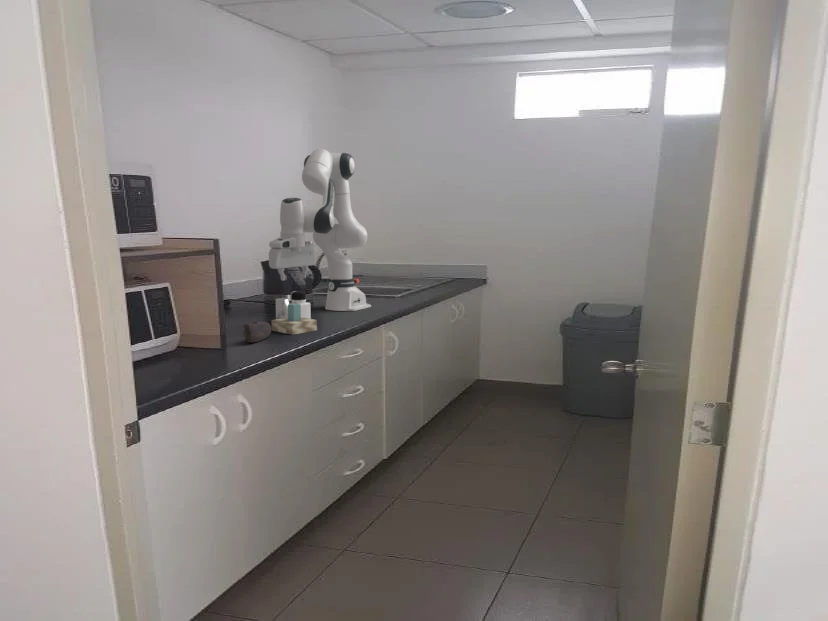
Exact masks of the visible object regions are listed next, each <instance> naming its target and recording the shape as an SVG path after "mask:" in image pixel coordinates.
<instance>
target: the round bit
mask: <svg viewBox="0 0 828 621" xmlns="http://www.w3.org/2000/svg"><path fill="white" fill-rule="evenodd" d="M289 303H290V298H286V297H282V298H279V297H278V298H275V320H276V319H282V318H288V304H289Z"/></svg>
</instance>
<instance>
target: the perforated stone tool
mask: <svg viewBox="0 0 828 621" xmlns="http://www.w3.org/2000/svg"><path fill="white" fill-rule="evenodd" d="M243 328H244V329H243V333H242V334H243V337H244V339H245V342H247V343H249V344H252V343H253V344H254V343H258V342H261V341H264V340H265V339H267V338H268V337H269V336H270V334H271V333H272V324H270V323H269V322H266V321H254V322H251V323H250V322H249V323H245V324H244V325H243Z"/></svg>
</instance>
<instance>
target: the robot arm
mask: <svg viewBox="0 0 828 621" xmlns="http://www.w3.org/2000/svg"><path fill="white" fill-rule="evenodd" d="M355 169H356V164H355V160H354V157H353V156H352V155H351V153H347V152H342V153H341V152H330V151H329V150H327V149H324V148H316V149H314V150H313V151H312V152H311V154H309V155H307V156H306V157H305V158H304V161H303V169H302V172H301V180H302V183H303V185H304V186H305V188H306V189H307V190H308V191H310V192H312V193H314V194H317V195H321V196H322V205H321V206H304V204H303V199H301V198H299V197H287V198H284V199H282V200H281V203H280V211H279V223H280V227H281V230H280V237H277V238H276V239H273V240H271V241H270V242H269V245H268V246H269V248H270V249H269V251H268V267H269V268H270V269H273V270H274V269H275V270H277V272H278V275H279V276H280V280H281V281H286V280H288V279H287V278H288V277H287V276H288V275H286V274H285V269H286V268H287V269H288V268H289V269H291V268H297V267H298V268H299V267H301V269H302V271H301V272H300V273H299V275H300V277H299V278H300V279H306V278H307V273H308V270H309V266H315V265H316V263H317V257H316V256H317V255H316V250H315V245H316V246H317V247H318V248H320V249H321V251H322V252H323V254H324V256H325V258H326V261H327V274H328V275H327V281H326V284H327V296H326V302H325V308H324V309H325V310H327V311H333V312H334V311H335V312H338V311H339V312H340V311H341V312H342V311H343V312H345V311H346V312H349V311H350V312H355V311H360V310H364V309H368V308H371V307H372V305H371V304H370V303H367V298H366V294H365V293H364V292H363V291H362V290H360V289H359V288H358V287H357V286H356V284H359V283H360V280H359V279H360V278H353V262H352V260H351V259H350V258H349V256H346V255H345V254H344V253H343V251H342V249H357V248H362V247H364V246H365V245H366V243H367V242H368V236H369V235H368V230H367V229H366V227H365V226H363V225H362V224H361V223H359V221H358V220H357V219H356V217H355V215H354V212H353V209H352V203H351V191H350V190H351V189H350V182H349V179H350V178H351V177H352V176H353V175H354V173H355ZM335 219H336V221H337V222H338V223H335ZM305 233H312V239H313V242H314V243H315V244H314V243H313V242H312V241H310V240H308V241H305V240H306V236H305Z"/></svg>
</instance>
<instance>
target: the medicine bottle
mask: <svg viewBox="0 0 828 621" xmlns="http://www.w3.org/2000/svg"><path fill="white" fill-rule="evenodd" d="M290 301H291V302H289V304H301V317H303V318H309V319H312V317H311V316H312V315H311V314H312V313H311V309H312V308H311V305H312V304H311V302H307V292H305V291H303V290H295V291H291V293H290Z"/></svg>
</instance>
